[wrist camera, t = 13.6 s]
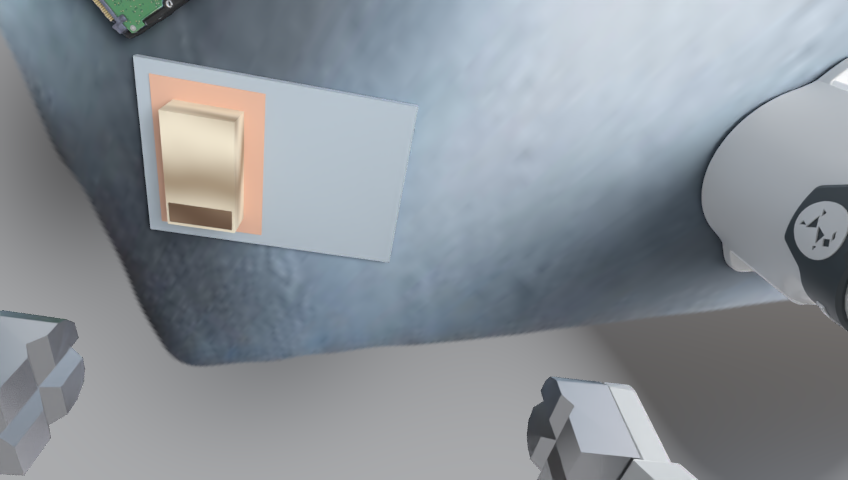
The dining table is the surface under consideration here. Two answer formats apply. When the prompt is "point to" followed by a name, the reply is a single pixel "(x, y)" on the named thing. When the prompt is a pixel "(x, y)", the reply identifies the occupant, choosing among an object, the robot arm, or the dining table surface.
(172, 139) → the cream curved ramp
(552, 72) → the dining table surface
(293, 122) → the mat
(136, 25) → the disk drive
